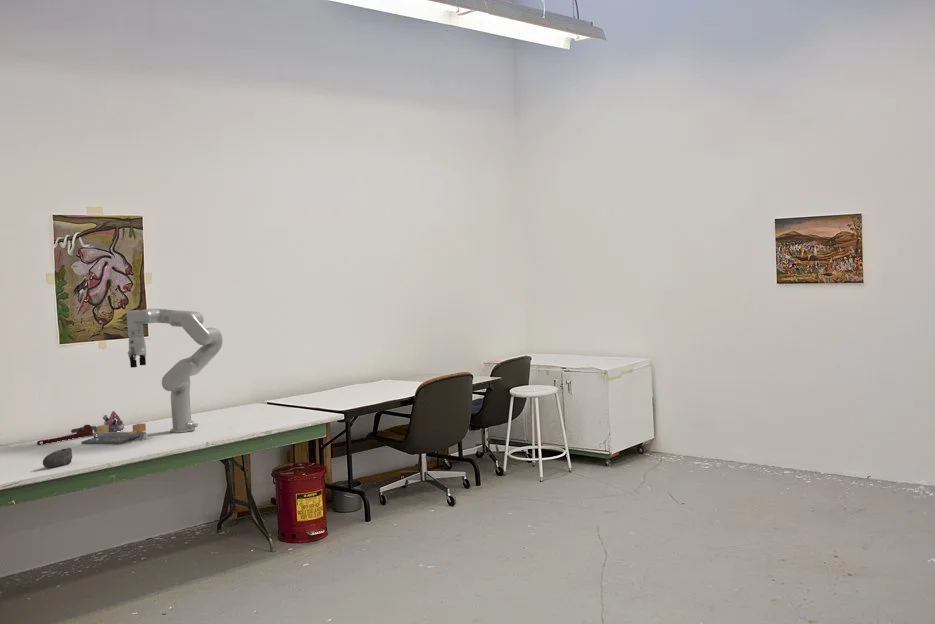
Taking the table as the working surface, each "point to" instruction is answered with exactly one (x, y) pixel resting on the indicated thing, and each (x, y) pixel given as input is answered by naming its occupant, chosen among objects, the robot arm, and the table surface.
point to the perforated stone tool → (58, 458)
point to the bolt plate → (112, 436)
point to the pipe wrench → (80, 432)
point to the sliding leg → (137, 428)
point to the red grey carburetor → (113, 422)
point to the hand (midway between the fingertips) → (138, 366)
